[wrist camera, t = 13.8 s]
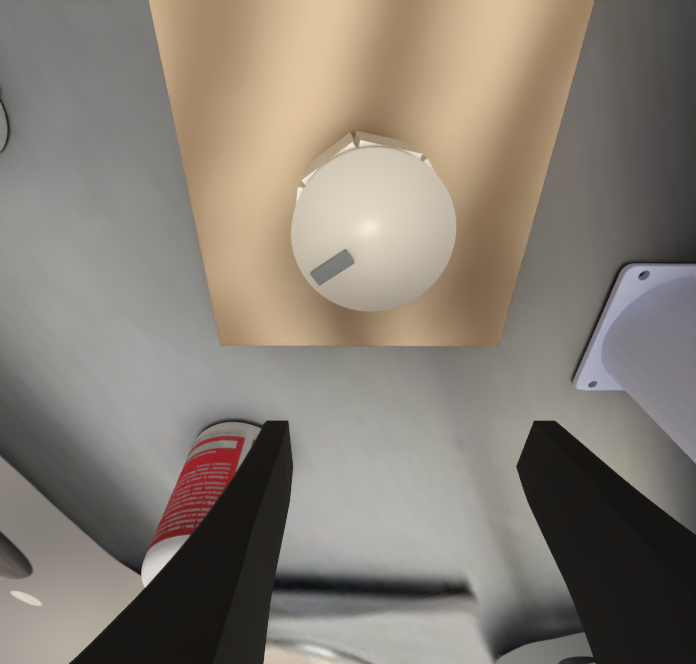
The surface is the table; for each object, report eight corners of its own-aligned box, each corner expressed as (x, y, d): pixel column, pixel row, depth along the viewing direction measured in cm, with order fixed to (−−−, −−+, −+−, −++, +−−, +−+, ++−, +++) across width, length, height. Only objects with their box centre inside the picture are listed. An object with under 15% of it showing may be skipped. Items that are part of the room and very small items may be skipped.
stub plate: (586, -25, 13) (604, -34, 12) (492, 336, 21) (498, 346, 20) (153, -34, 13) (139, -44, 12) (225, 335, 21) (220, 345, 20)
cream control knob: (386, 104, 14) (406, 105, 10) (446, 218, 16) (485, 262, 12) (279, 185, 16) (254, 219, 11) (349, 279, 18) (351, 339, 13)
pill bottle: (185, 462, 26) (98, 663, 17) (209, 406, 23) (120, 609, 14) (267, 486, 28) (229, 682, 19) (299, 436, 25) (273, 637, 16)
